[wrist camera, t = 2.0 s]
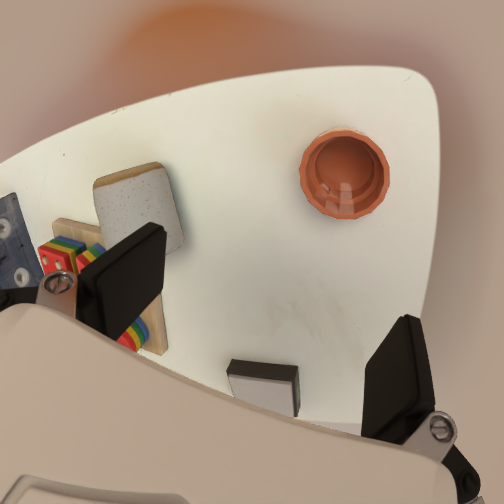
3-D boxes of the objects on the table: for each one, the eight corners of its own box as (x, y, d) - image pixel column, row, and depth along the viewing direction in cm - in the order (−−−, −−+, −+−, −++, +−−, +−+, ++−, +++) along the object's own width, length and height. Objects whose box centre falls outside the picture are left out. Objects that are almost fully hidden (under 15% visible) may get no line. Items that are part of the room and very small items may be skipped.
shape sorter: (59, 216, 35) (27, 234, 30) (156, 239, 31) (122, 265, 26) (83, 313, 44) (60, 334, 38) (169, 349, 40) (148, 379, 35)
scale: (298, 366, 34) (294, 383, 32) (300, 405, 38) (296, 420, 35) (231, 359, 37) (224, 374, 34) (242, 397, 40) (236, 412, 38)
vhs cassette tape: (10, 193, 37) (-34, 215, 29) (16, 190, 36) (-30, 213, 28) (42, 286, 45) (6, 314, 37) (50, 287, 44) (12, 318, 36)
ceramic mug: (177, 152, 26) (124, 171, 20) (198, 232, 29) (155, 270, 23) (103, 174, 30) (52, 196, 23) (123, 240, 33) (80, 271, 27)
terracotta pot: (395, 163, 21) (407, 176, 17) (347, 212, 24) (347, 236, 20) (339, 111, 21) (339, 111, 16) (293, 165, 24) (281, 178, 20)
